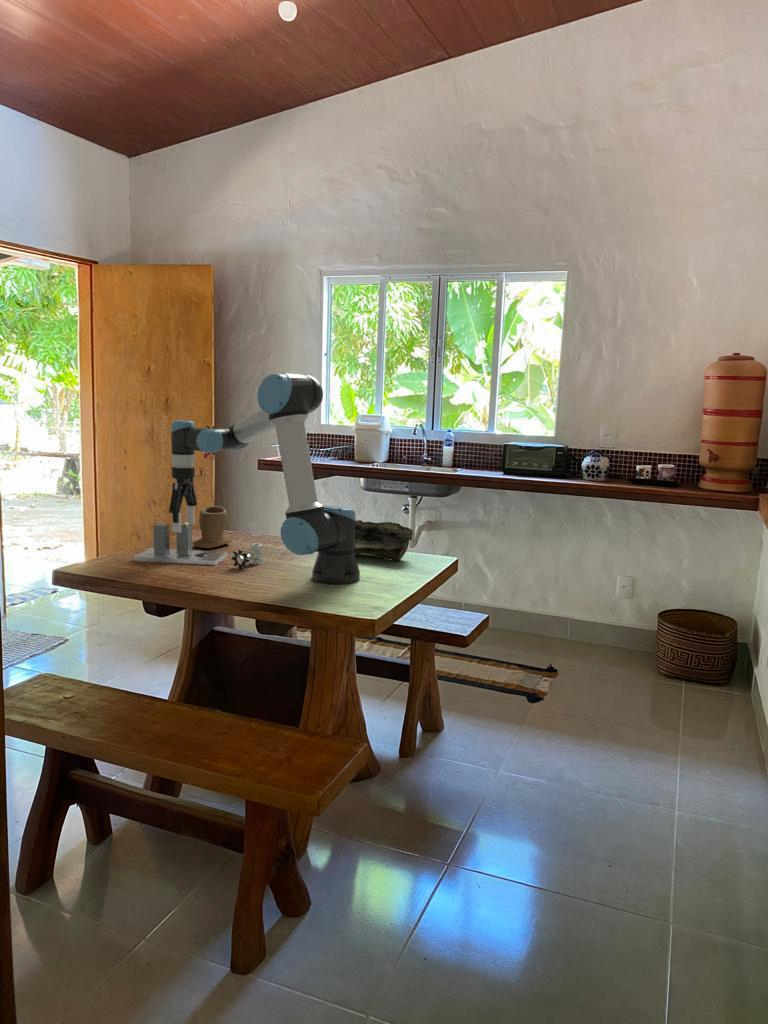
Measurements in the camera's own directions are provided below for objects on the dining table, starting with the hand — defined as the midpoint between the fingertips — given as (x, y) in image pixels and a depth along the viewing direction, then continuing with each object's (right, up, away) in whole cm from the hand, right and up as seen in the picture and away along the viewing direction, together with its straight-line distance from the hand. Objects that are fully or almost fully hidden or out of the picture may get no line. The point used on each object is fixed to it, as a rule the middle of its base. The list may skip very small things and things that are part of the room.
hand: (183, 528), depth 259 cm
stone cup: (+6, -7, +22) cm, 24 cm away
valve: (+24, -13, -5) cm, 27 cm away
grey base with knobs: (-1, -10, +2) cm, 11 cm away
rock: (+66, -11, +10) cm, 68 cm away
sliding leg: (0, -9, +1) cm, 9 cm away
